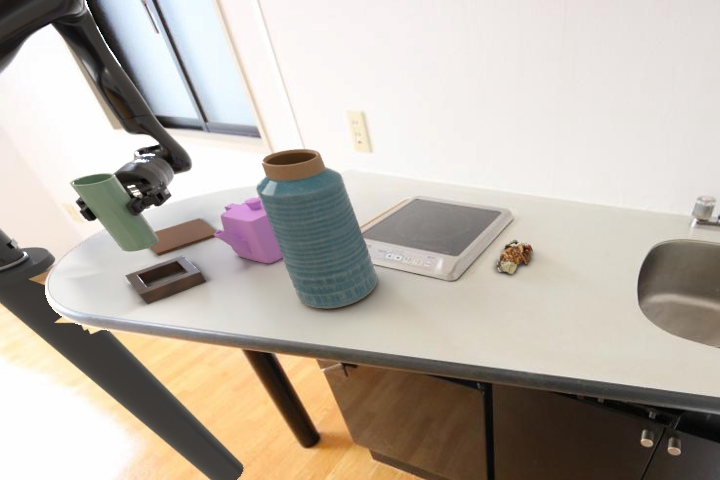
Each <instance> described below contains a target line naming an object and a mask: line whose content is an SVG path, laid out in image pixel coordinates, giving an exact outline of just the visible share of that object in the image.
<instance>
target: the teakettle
mask: <svg viewBox="0 0 720 480" xmlns="http://www.w3.org/2000/svg"><path fill="white" fill-rule="evenodd" d="M224 209H225V211H224V212H223V213H221V214H220V220H221V224H222V227H223V229H218V230H216V231H217V232H216V233H214V234H213V235H214V238H215V237H216V238H217V239H219V240H221V241H222V242H224V243H225V244H227V245H229V246H230V247H231V249H232V250H233V252H234V253H235V254H236V255H238V257H240V258H243V259H247V260H250V261H253V262H259V263H263V264H269V265H270V264H273V263H275V262H278V261H279V260H282V259H283V257H282V254H281V251H280V249H279V246H278V244H277V241H276V239H275V236H274V233H273V231H272V229H271V226H270V224H269V221H268V218H267V216H266V212H265V211H264V207H263V205H262V202H261V201H260V198H259V196H258V197H250V198H247V199H245V200H244V202H243V203H241V204H239V203H230V204H228V205H225V206H224Z"/></svg>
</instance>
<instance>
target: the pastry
mask: <svg viewBox="0 0 720 480" xmlns="http://www.w3.org/2000/svg"><path fill="white" fill-rule="evenodd" d="M513 244H514V245H513ZM512 245H513V246H512ZM533 252H534V249H533V247H532V246H531V244H528V243H527V242H525V243H523V242H522V241H518V240H517V239H516V238H515V239H513V240H512V241H509V243H506V244H505V245H504V247H503V251H502V252H501V254H500V255H499V259H498V261H497V262H496V269H497V271H498V272H500V273H501V272H506V273H508V274H509V275H514V273H515V271H517V267H518V265H520V264H521V263H522V262H524V263H525V265H526V266H527V265H528V264H529V261H530V260H531V256H530V255H531V253H533Z"/></svg>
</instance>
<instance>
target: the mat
mask: <svg viewBox="0 0 720 480" xmlns="http://www.w3.org/2000/svg"><path fill="white" fill-rule="evenodd" d="M217 231H218V230H216V229H214V228H213V227H211V226H210V225H209V224H207V223H206V222H205V221H204V220H202V219H201V218H199V217H198V218H195V219H192V220H189V221H186V222H182V223H179V224H175V225H172V226H169V227H166V228H162V229H159V230H156V231H154V232H155V234H156V235H157V236H158V238H159V242H158V243H157V244H155V245H154V246H152V247H150V249H151V250H152V251H153V252H154V254H156V255H157V256H161V255H164V254H167V253H170V252H172V251H175V250H179V249H182V248H184V247H187V246H190V245H194V244H197V243H200V242H202V241H206V240H208V239H211V238H215V236H214V235H213V234H214V233H216V232H217Z"/></svg>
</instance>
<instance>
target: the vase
mask: <svg viewBox="0 0 720 480" xmlns="http://www.w3.org/2000/svg"><path fill="white" fill-rule="evenodd" d="M261 165H262V168H263V172H264V173H265V176H264V177H263V178H261V180H260V181H259V182H257V184H256V187H255V189H256V194H257V195H258V197H259V198H260V201H261V202H262V205H263V207H264V211H265V212H266V216H267V218H268V221H269V224H270V226H271V229H272V231H273V233H274V236H275V239H276V241H277V244H278V246H279V249H280V251H281V254H282V257H283V258H282V259H283V263H284V265H285V268H286V271H287V273H288V277H289V279H290V280H291V283H292V286H293V288H294V291H295V293H296V296H297V298H298V299H299V301H300V302H302V303H303V304H305V305H306V306H307V307H308V306H309V307H310V308H311V307H312V308H316V309H339V308H343V307H347V306H350V305H353V304H355V303H358V302H359V301H361V300H362V299H364V298H365V297H367V296H369V294H371V293H372V292H373V290H374V289H375V287H376V285H377V283H378V275H377V271H376V269H375V268H374V263H373V261H372V256H371V254H370V252H369V248H368V246H367V243H366V241H365V238H364V236H363V233H362V230H361V228H360V227H361V226H360V224H359V221H358V219H357V215H356V213H355V210H354V206H353V204H352V202H351V199H350V196H349V193H348V190H347V188H346V183H345V182H344V178H343V175H342V174H341V173H340V172H339V171H338V170H335V169H333V168H330V167H329V166H326V165H325V163H324V160H323V157H322V155H321V153H320V152H319V151H317V150H315V149H310V148H309V149H308V148H307V149H306V148H297V149H288V150H287V149H286V150H281V151H277V152H273V153H271V154H268V155H266V156H264V157H263V158H262V159H261Z"/></svg>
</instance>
